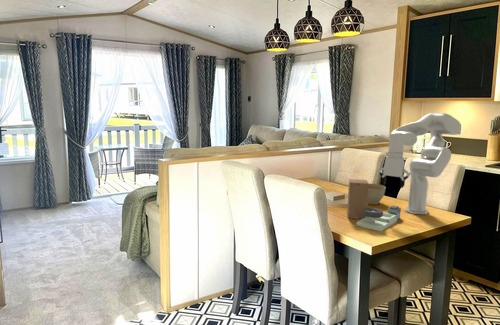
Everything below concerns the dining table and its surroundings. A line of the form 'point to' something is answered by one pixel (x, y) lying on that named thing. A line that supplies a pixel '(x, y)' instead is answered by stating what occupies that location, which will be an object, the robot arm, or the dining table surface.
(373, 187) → the planter bowl
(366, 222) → the chassis
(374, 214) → the faceted grey bowl
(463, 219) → the dining table surface
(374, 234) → the dining table surface
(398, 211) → the block
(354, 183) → the wooden block
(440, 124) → the robot arm
